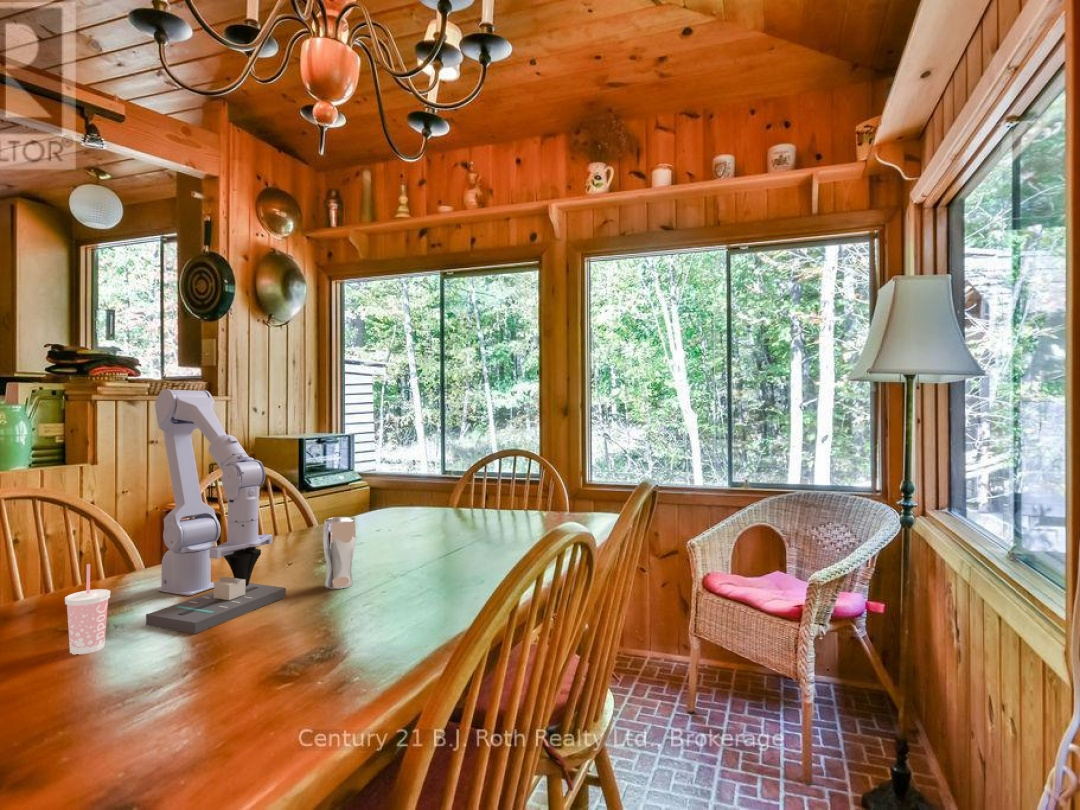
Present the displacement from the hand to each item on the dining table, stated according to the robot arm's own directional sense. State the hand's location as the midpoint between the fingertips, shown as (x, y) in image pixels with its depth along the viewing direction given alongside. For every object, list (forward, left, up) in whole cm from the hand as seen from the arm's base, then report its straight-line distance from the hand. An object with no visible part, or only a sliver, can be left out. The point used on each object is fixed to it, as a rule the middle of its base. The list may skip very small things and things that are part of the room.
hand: (242, 585), depth 123 cm
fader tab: (0, -3, -1) cm, 3 cm away
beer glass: (+11, +17, -4) cm, 20 cm away
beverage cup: (-5, -27, -4) cm, 28 cm away
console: (0, -5, -3) cm, 6 cm away
